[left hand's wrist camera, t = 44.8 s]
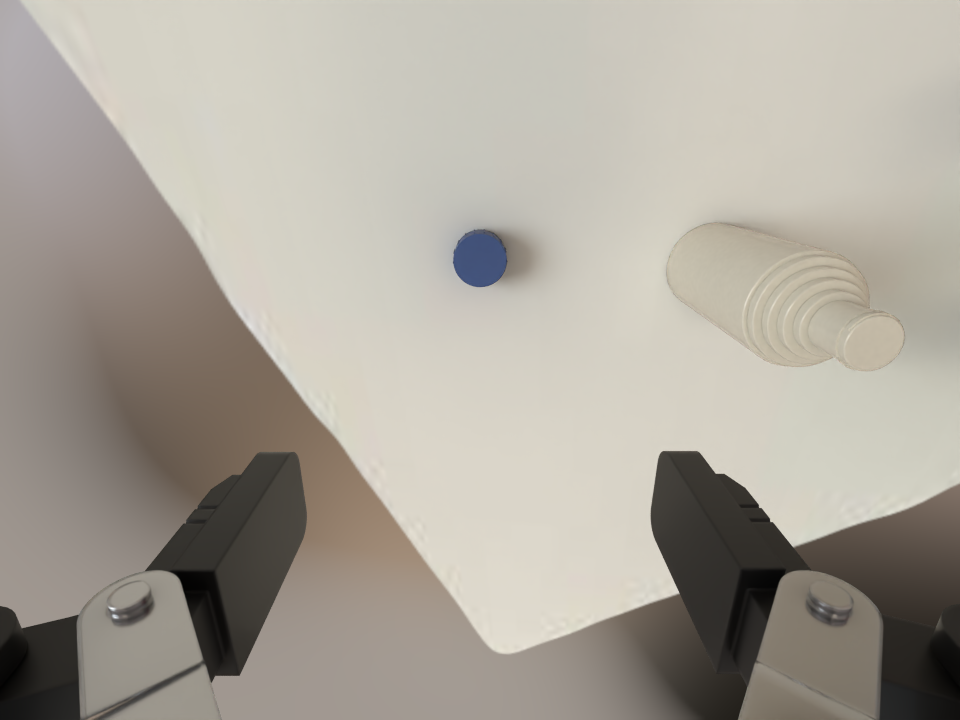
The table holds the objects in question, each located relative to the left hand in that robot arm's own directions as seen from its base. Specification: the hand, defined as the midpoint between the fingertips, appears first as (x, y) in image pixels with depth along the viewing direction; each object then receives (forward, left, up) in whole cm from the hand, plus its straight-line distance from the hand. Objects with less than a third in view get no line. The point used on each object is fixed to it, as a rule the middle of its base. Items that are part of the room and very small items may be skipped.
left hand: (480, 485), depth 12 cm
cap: (0, 0, -27) cm, 27 cm away
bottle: (-3, +17, -29) cm, 34 cm away
